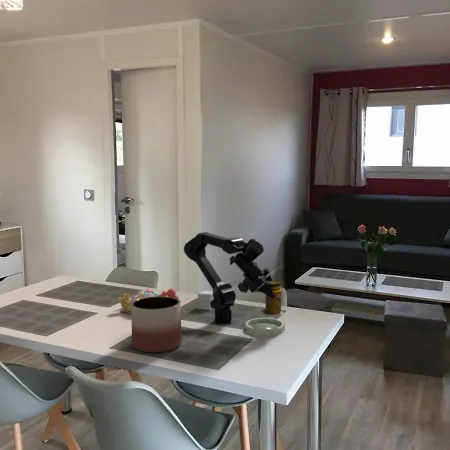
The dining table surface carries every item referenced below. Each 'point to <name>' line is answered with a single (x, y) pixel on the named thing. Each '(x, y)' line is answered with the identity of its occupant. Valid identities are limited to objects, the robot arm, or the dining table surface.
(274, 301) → the condiment
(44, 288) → the dining table surface
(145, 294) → the candy landscape model
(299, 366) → the dining table surface
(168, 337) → the planter
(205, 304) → the skincare box
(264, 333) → the round tray
